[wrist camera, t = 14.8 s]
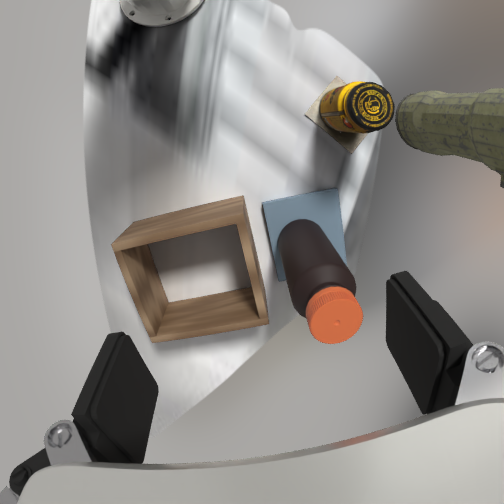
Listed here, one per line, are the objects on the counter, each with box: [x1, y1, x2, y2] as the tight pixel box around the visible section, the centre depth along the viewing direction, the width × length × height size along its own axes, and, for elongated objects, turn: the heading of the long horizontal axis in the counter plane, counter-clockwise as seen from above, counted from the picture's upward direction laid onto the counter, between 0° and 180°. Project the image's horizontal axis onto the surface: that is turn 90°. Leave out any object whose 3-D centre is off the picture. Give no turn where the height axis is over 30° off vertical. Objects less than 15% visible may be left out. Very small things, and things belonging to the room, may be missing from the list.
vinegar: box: [278, 219, 363, 344], centre depth 36 cm, size 7×7×20 cm
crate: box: [111, 196, 269, 343], centre depth 43 cm, size 15×16×9 cm
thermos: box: [395, 88, 504, 188], centre depth 23 cm, size 9×12×35 cm
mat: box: [262, 188, 347, 282], centre depth 46 cm, size 12×10×1 cm
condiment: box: [305, 76, 394, 154], centre depth 34 cm, size 7×8×12 cm
